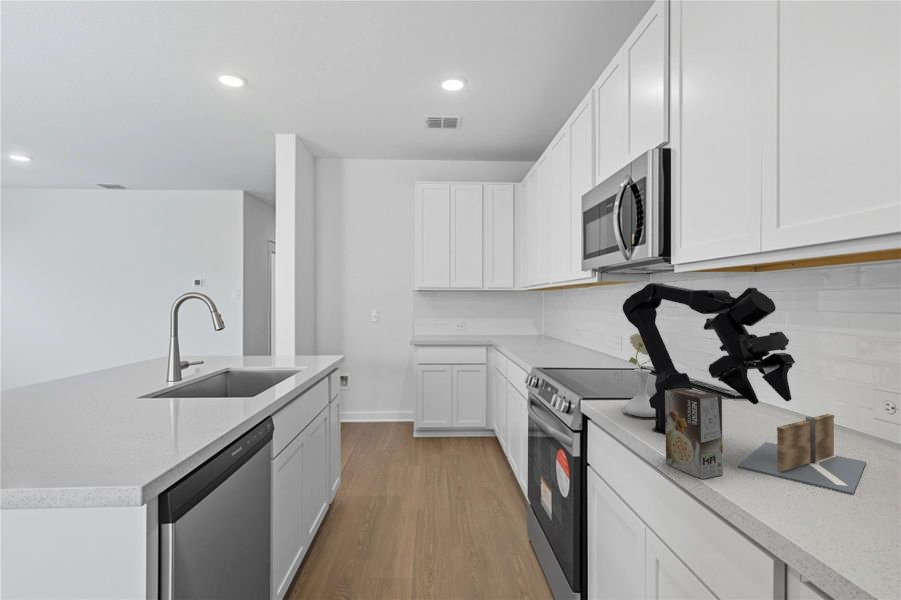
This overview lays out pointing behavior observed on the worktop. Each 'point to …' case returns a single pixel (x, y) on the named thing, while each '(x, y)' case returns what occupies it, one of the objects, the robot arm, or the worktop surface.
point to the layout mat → (809, 469)
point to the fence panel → (793, 445)
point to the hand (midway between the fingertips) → (773, 402)
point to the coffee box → (694, 432)
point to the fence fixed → (821, 437)
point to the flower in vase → (640, 384)
